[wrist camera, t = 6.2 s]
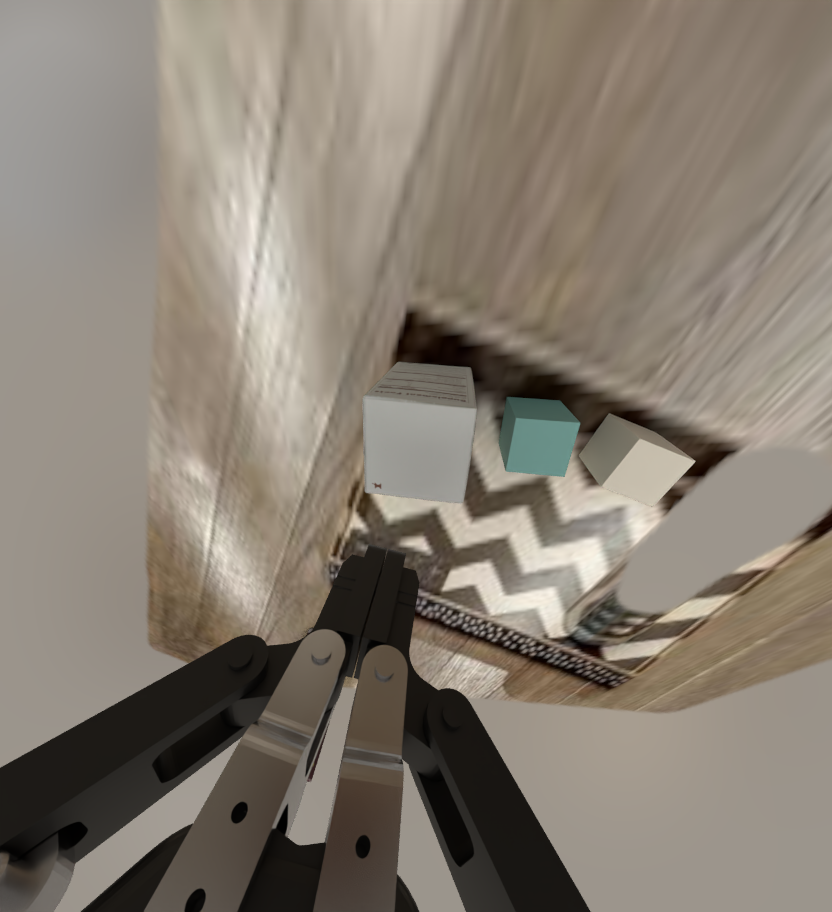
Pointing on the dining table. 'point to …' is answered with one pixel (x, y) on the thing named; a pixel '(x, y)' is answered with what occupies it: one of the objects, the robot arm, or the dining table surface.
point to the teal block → (537, 436)
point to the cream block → (633, 460)
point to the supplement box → (420, 432)
